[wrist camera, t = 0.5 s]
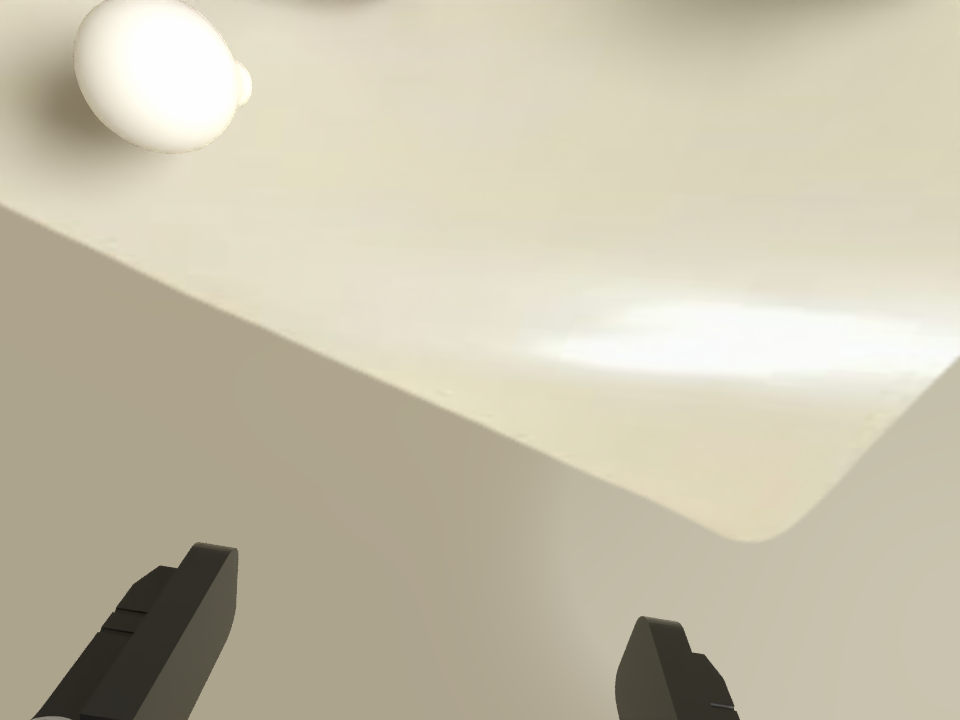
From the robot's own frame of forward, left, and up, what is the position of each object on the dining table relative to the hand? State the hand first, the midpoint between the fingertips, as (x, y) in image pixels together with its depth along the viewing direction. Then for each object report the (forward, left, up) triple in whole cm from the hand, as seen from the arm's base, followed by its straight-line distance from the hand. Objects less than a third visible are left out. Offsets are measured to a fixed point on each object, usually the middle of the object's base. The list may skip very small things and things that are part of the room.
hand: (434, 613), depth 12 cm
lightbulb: (-8, -15, -27) cm, 31 cm away
